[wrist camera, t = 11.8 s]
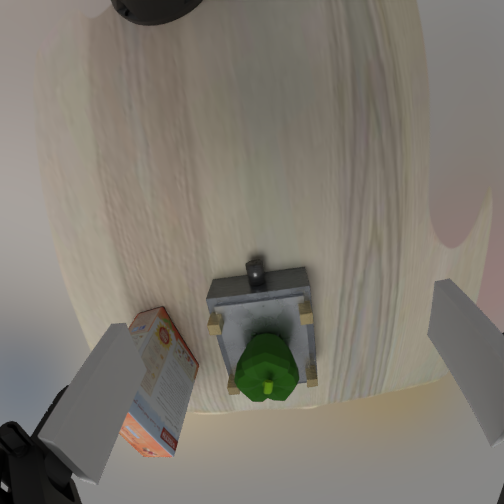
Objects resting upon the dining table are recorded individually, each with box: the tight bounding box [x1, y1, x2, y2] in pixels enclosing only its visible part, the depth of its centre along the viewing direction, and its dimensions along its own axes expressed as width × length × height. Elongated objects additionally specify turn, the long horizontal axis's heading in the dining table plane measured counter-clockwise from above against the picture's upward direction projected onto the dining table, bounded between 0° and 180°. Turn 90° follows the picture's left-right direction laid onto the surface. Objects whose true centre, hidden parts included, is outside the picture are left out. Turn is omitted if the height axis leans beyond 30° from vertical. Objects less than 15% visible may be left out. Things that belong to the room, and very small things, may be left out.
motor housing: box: [206, 260, 318, 395], centre depth 44 cm, size 21×14×9 cm, turn 10°
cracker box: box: [119, 307, 199, 457], centre depth 42 cm, size 14×6×21 cm, turn 21°
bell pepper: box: [234, 333, 299, 402], centre depth 38 cm, size 8×8×10 cm
